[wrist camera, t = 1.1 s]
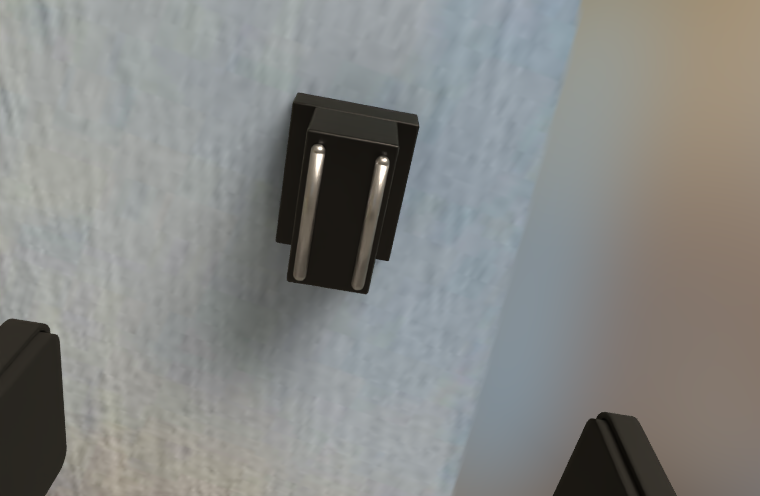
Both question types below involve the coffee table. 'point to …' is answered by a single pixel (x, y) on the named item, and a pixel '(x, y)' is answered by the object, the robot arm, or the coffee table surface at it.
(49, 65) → the coffee table surface
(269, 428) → the coffee table surface
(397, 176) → the clip
